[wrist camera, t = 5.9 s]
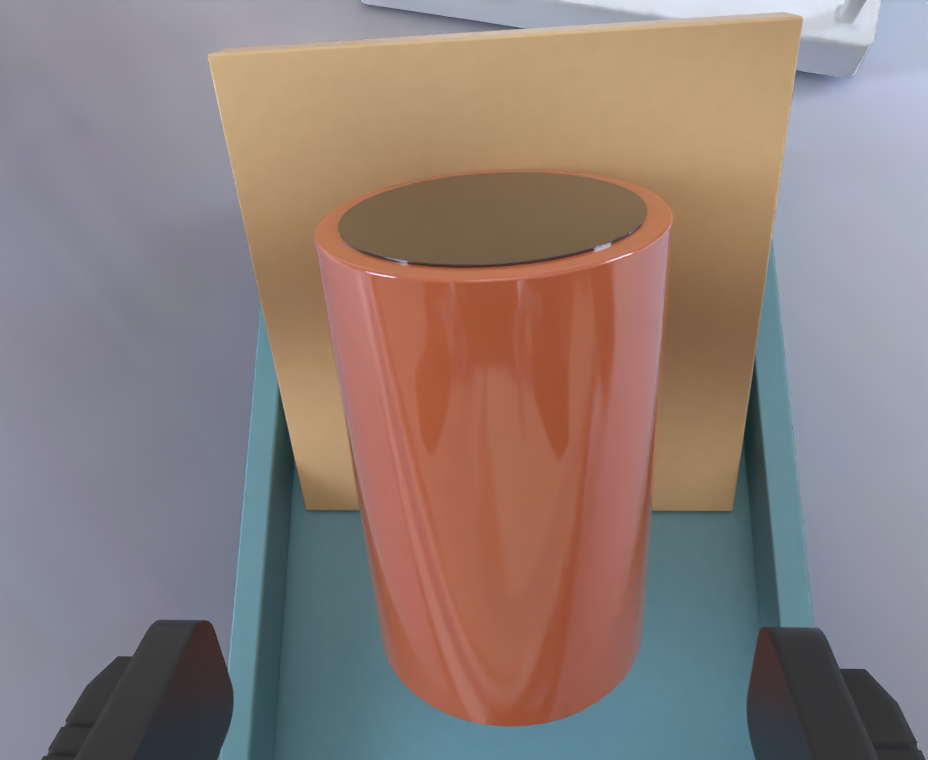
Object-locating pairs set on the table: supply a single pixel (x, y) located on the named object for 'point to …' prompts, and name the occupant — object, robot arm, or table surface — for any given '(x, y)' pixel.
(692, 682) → the tray
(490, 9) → the file sorter
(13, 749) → the table surface
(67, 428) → the table surface
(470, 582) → the orange cylinder
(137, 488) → the table surface
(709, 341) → the wooden stand
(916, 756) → the robot arm
